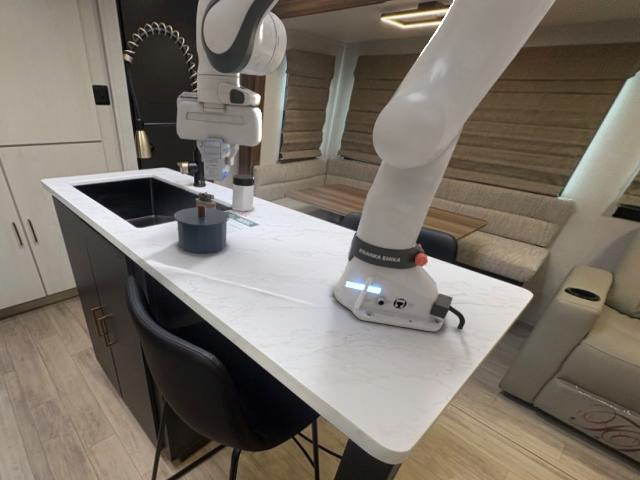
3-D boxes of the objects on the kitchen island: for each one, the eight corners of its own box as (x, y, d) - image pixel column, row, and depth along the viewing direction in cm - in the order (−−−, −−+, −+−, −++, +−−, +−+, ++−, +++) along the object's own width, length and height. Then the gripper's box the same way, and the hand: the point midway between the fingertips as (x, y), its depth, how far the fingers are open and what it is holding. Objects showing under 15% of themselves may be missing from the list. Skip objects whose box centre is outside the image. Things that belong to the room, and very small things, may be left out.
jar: (253, 212, 118) (255, 179, 112) (231, 211, 118) (233, 178, 111) (251, 205, 126) (253, 174, 119) (231, 204, 125) (232, 173, 119)
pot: (233, 242, 92) (234, 214, 88) (212, 260, 82) (212, 229, 77) (194, 234, 96) (194, 207, 92) (169, 249, 86) (167, 219, 81)
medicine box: (222, 181, 71) (222, 139, 66) (203, 179, 72) (202, 138, 67) (229, 175, 78) (230, 136, 73) (212, 173, 78) (212, 135, 73)
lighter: (193, 221, 107) (192, 191, 101) (200, 218, 109) (199, 189, 103) (211, 226, 103) (211, 196, 97) (218, 224, 105) (218, 194, 100)
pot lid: (237, 216, 88) (238, 203, 86) (213, 233, 77) (213, 217, 74) (192, 208, 93) (192, 195, 91) (163, 222, 81) (161, 207, 79)
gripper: (168, 90, 66) (173, 160, 74) (256, 95, 60) (251, 171, 67) (184, 91, 71) (187, 156, 79) (267, 96, 65) (261, 166, 72)
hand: (217, 163), depth 73 cm, fingers closed on medicine box, 5 cm apart
